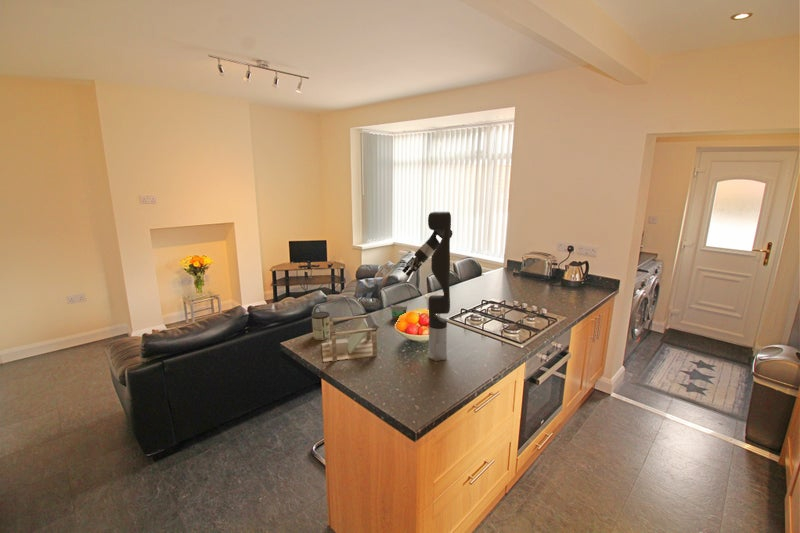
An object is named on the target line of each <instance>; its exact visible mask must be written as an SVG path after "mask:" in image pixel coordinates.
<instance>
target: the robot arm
mask: <svg viewBox="0 0 800 533" xmlns="http://www.w3.org/2000/svg"><path fill="white" fill-rule="evenodd" d="M427 225H428V228H429V230H431V231H433V232H432V234H431V235H430V237H429V238H428V239H427V240H426V241H425V242H424V243H423V244H422V245H421V246H420V247H419V248H418V249H417V250H416V252H414V256H415V257H414V256H412V257H411V258H410V259H409V260H408V261H407V262H406V263H405V267H404V268H403V269H402V271H401V272H403V274H405V276H407V277H410V276H411V274H413V272H416V271H418V270H419V269H420V267H421V266H422V263H423V264H424V263H425V262H426V261H427V260H428V259H429V258H430V257H431V258H430V259H431V268H430V269H431V272H432V274H433V276H434V277H435V279H436V280H437V282H438V284H439V285H440V287H441V290H442V295H443V296H438V295H432V296H430V297H429V301H428V306H429V317H428V358H429V359H430V360H433V361H434V362H439V361H445V360H447V352H448V351H447V346H448V345H447V343H448V339H447V338H448V337H447V336H448V335H447V332H448V321H447V320H446V319H445V318H443V317H441V316H440V317H438V316H437V315H436V314H440V315H441V314H442V315H443V314H444V315H446V314H447V315H448V314H449V313H450V310H451V295H450V273H451V272H450V271H451V251H450V250H451V248H450V245H451V243H450V242H451V238H452V236H453V231H452V228H451V227H452V214H451V213H450V211H431V212H430V213H429V214H428V217H427ZM437 236H438V237H439V238H440V239H441V240H440V241H439V240H438V239H437Z"/></svg>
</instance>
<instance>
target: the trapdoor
mask: <svg viewBox="0 0 800 533" xmlns="http://www.w3.org/2000/svg"><path fill="white" fill-rule="evenodd" d="M368 315H369V316H368V317H367V319H366V318H362V321H361V322H360V323H359V325H358V326H357V327H356V328H355V330H360V329H369V328H376V331H378V329H379V328H380V326H379V324H378V322H377V321H376V318H375V316H373V315H372V314H368ZM368 326H369V327H368ZM367 333H368V332H363V333H354V334H350V336H349V337H348V338H347V341H348V350H349V353H350V354H351V353H352V351H353V350H354V349H355V348H356V346H357V345H358V344H359V343H360V341H361V340H362V339H365V336H367Z"/></svg>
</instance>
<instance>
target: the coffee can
mask: <svg viewBox="0 0 800 533" xmlns="http://www.w3.org/2000/svg"><path fill="white" fill-rule="evenodd" d="M329 319H330V312H328V311H316V312H313V313H312V314H311V321H312V334H313V339H314V340H317V341H319V340H320V341H321V340H322V341H323V340H327V339H330V325H329Z"/></svg>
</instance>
